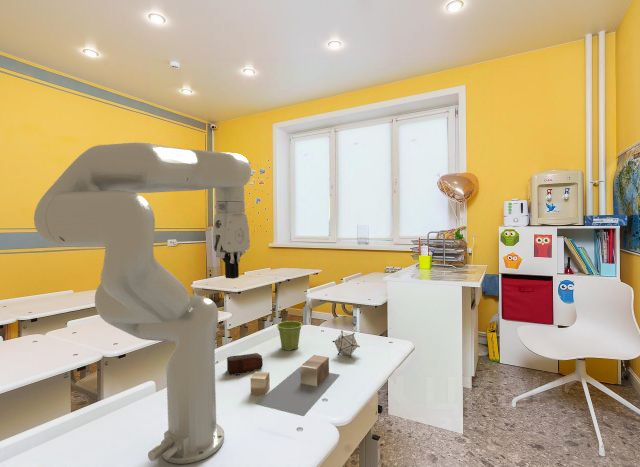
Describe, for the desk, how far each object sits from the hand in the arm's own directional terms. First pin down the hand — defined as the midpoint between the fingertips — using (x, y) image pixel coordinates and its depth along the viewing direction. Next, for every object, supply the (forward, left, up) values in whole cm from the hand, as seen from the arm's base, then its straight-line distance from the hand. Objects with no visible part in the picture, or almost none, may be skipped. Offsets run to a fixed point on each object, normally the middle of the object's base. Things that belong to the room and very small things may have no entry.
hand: (232, 277), depth 92 cm
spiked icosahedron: (+38, -18, -32) cm, 53 cm away
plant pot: (+37, +4, -32) cm, 49 cm away
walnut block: (+12, -16, -29) cm, 36 cm away
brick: (+14, +7, -32) cm, 36 cm away
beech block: (+4, -5, -32) cm, 33 cm away
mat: (+10, -15, -32) cm, 37 cm away
